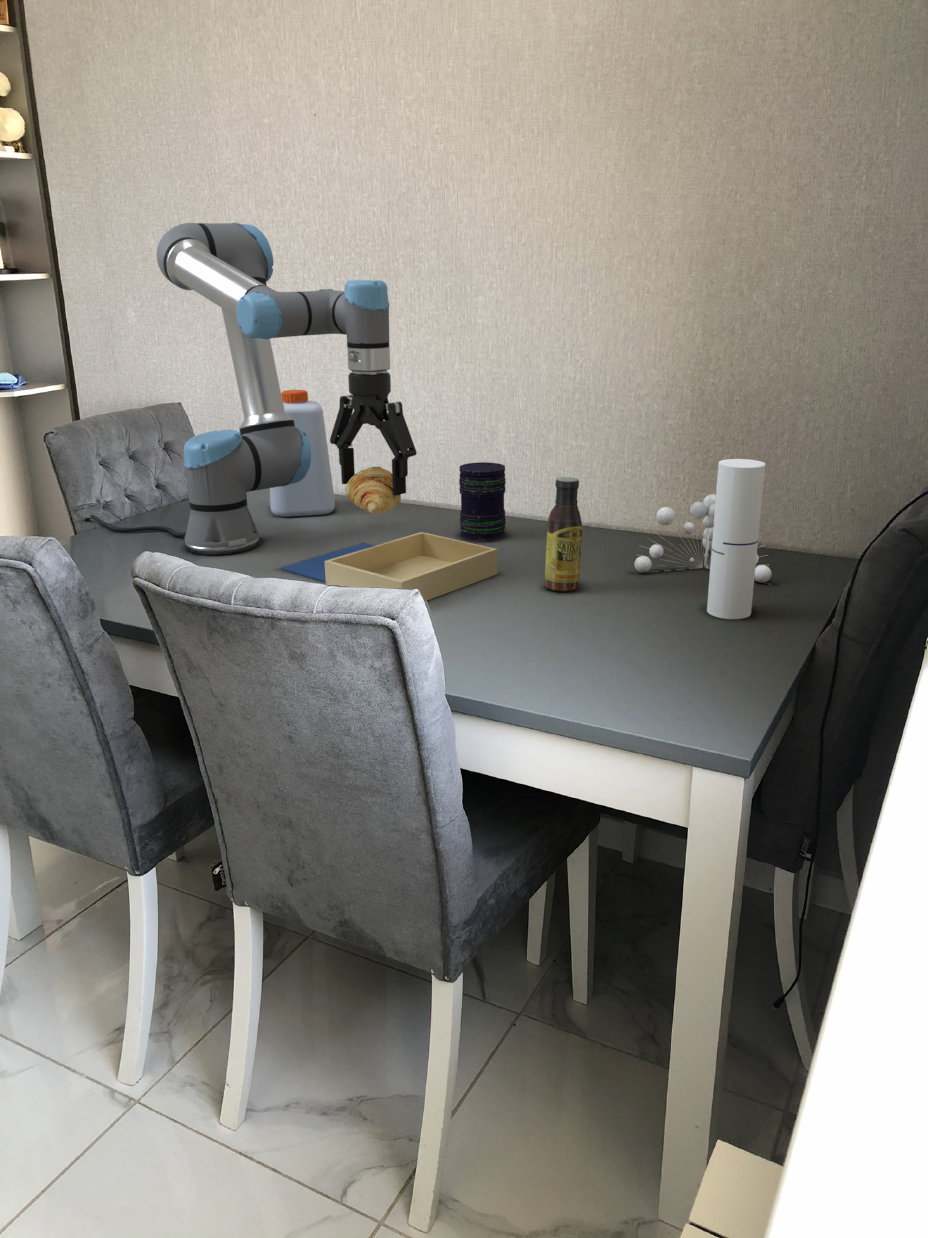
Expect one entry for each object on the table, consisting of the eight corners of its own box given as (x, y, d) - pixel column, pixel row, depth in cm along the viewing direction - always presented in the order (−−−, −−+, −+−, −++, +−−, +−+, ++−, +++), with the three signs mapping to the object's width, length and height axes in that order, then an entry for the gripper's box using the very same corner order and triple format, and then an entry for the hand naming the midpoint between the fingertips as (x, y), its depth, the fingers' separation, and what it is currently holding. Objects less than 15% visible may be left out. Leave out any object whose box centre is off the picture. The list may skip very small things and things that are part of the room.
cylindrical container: (743, 622, 157) (757, 469, 148) (700, 614, 160) (712, 465, 152) (756, 609, 163) (770, 461, 154) (714, 602, 166) (726, 457, 157)
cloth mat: (280, 569, 187) (280, 567, 187) (363, 544, 203) (363, 542, 203) (329, 583, 179) (328, 581, 179) (411, 556, 194) (411, 554, 194)
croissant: (393, 536, 173) (414, 498, 171) (342, 512, 170) (363, 473, 168) (384, 503, 193) (403, 468, 190) (338, 481, 190) (357, 445, 187)
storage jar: (490, 544, 202) (490, 473, 197) (451, 538, 207) (449, 469, 202) (513, 533, 210) (514, 464, 205) (475, 527, 215) (474, 460, 210)
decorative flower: (609, 554, 193) (612, 485, 188) (713, 547, 198) (718, 479, 193) (658, 594, 170) (663, 516, 166) (774, 584, 175) (782, 508, 170)
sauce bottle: (556, 595, 171) (559, 484, 164) (538, 585, 176) (539, 477, 169) (587, 589, 173) (591, 480, 167) (568, 580, 179) (571, 473, 172)
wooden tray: (325, 587, 177) (324, 561, 175) (422, 555, 195) (421, 531, 193) (402, 610, 165) (401, 582, 163) (497, 574, 183) (497, 548, 181)
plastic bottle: (271, 519, 224) (261, 396, 214) (270, 504, 238) (260, 388, 228) (336, 515, 227) (329, 393, 217) (332, 500, 241) (324, 386, 231)
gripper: (307, 368, 177) (313, 481, 185) (404, 379, 162) (407, 503, 170) (337, 364, 183) (342, 475, 190) (435, 375, 167) (436, 495, 175)
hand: (373, 488), depth 180 cm, fingers closed on croissant, 13 cm apart
